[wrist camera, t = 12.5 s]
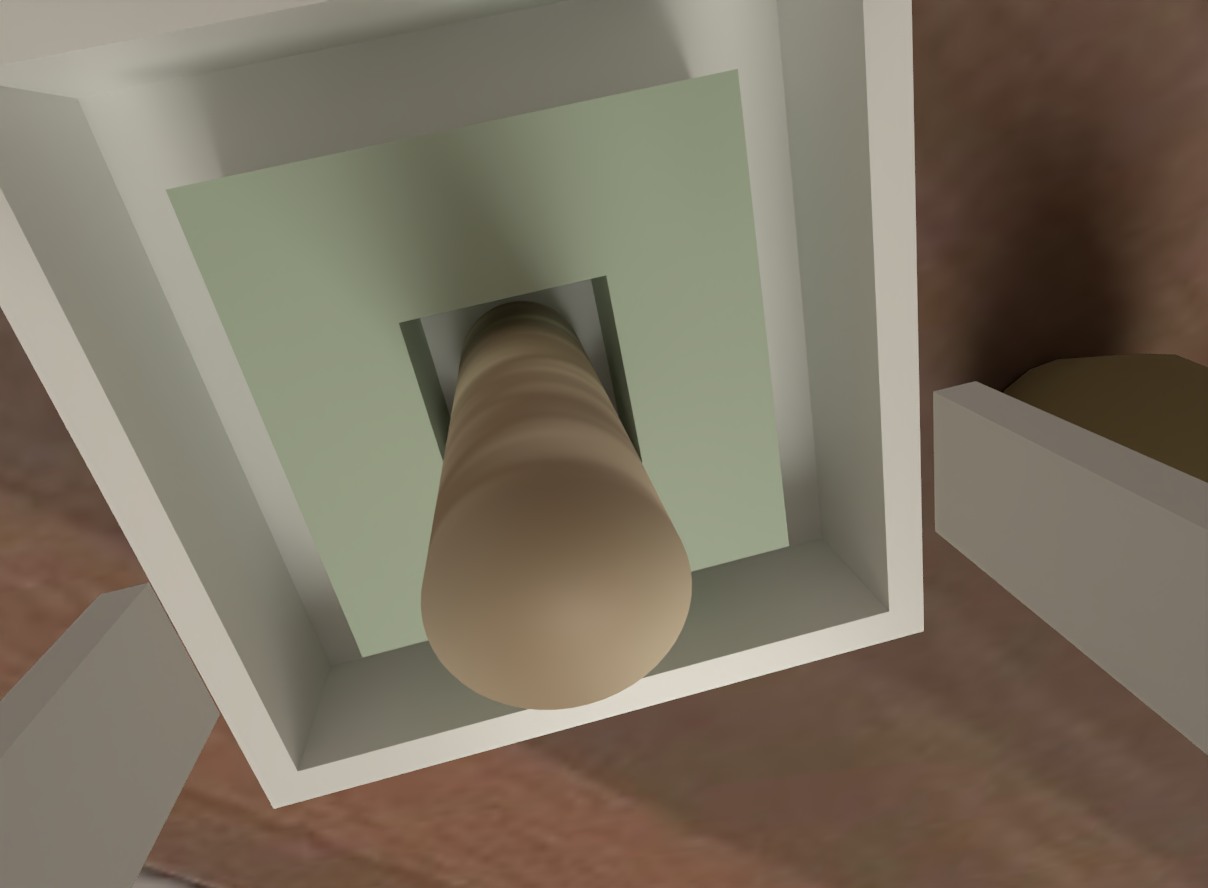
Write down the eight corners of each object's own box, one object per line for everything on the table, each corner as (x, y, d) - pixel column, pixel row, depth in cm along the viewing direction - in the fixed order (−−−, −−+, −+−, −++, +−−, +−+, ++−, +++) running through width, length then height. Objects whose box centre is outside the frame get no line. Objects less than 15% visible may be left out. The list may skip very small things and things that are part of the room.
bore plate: (693, 86, 21) (737, 68, 17) (746, 493, 26) (789, 545, 23) (224, 185, 20) (165, 189, 16) (380, 586, 25) (362, 657, 22)
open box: (795, -87, 21) (908, -181, 15) (841, 543, 29) (923, 631, 24) (30, 62, 19) (-155, 20, 14) (316, 680, 28) (273, 808, 22)
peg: (568, 288, 23) (669, 447, 10) (593, 403, 24) (708, 672, 11) (446, 316, 22) (383, 518, 9) (479, 430, 24) (464, 738, 11)
